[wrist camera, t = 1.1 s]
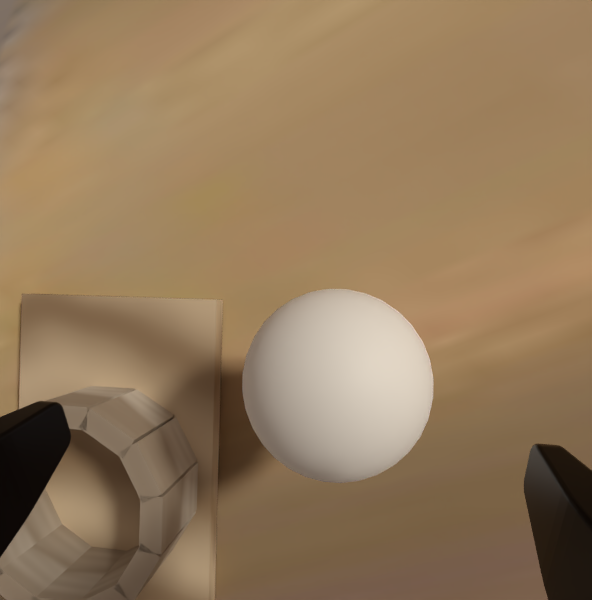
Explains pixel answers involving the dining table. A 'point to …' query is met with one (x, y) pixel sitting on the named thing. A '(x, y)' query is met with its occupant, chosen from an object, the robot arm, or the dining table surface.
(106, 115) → the dining table surface
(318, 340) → the lightbulb
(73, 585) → the lamp base
